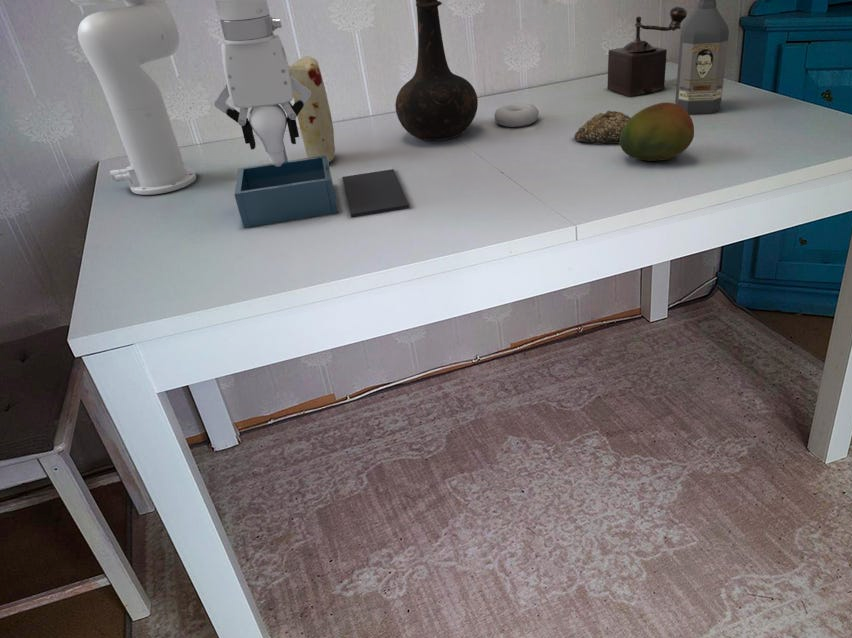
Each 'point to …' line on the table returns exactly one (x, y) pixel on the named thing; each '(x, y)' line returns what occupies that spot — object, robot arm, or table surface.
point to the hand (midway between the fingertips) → (273, 143)
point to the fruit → (657, 132)
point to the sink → (285, 191)
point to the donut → (516, 114)
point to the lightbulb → (270, 130)
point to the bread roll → (603, 128)
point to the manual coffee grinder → (641, 61)
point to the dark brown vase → (434, 86)
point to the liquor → (702, 60)
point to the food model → (314, 110)
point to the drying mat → (374, 193)
